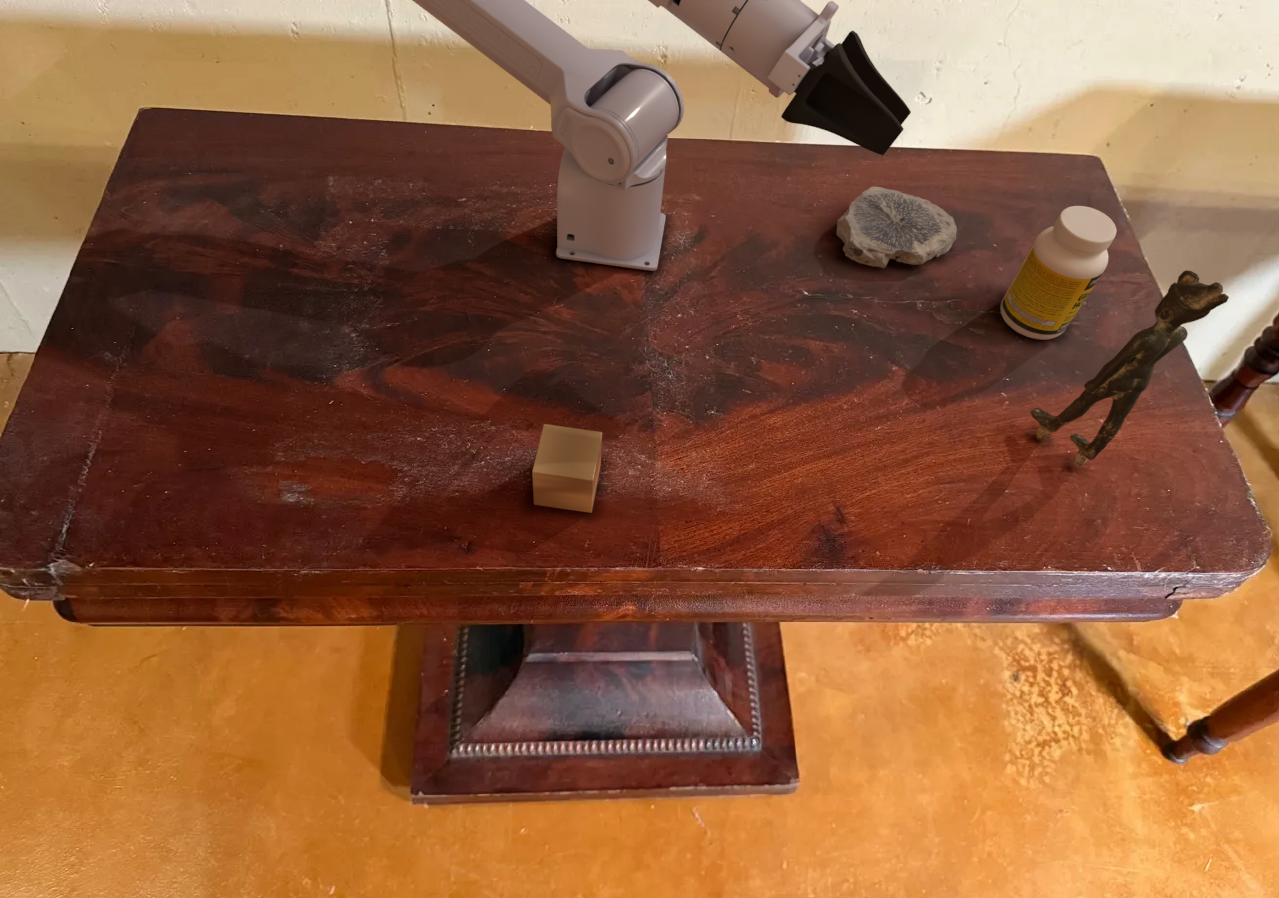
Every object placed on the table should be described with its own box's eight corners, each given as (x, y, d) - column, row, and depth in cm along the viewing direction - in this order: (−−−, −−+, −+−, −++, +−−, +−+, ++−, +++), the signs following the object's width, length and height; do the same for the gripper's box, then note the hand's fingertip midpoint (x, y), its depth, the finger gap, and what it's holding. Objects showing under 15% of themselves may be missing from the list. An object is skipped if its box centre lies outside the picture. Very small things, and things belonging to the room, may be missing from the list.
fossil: (871, 261, 81) (830, 176, 84) (852, 288, 84) (813, 205, 88) (972, 249, 85) (929, 168, 88) (950, 274, 88) (909, 196, 92)
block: (533, 504, 67) (531, 471, 63) (544, 457, 69) (543, 423, 66) (591, 513, 66) (593, 480, 63) (600, 465, 69) (602, 431, 65)
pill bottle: (1062, 350, 80) (1125, 257, 71) (994, 330, 81) (1047, 235, 72) (1067, 305, 83) (1127, 211, 74) (1002, 286, 84) (1053, 191, 75)
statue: (1050, 410, 76) (1182, 224, 59) (1104, 465, 72) (1259, 284, 56) (1009, 428, 74) (1133, 243, 58) (1062, 485, 71) (1209, 306, 55)
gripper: (757, -38, 54) (932, 97, 55) (797, -40, 66) (940, 71, 67) (694, 64, 58) (858, 190, 59) (743, 45, 70) (878, 150, 71)
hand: (897, 132), depth 63 cm, fingers open, 7 cm apart
